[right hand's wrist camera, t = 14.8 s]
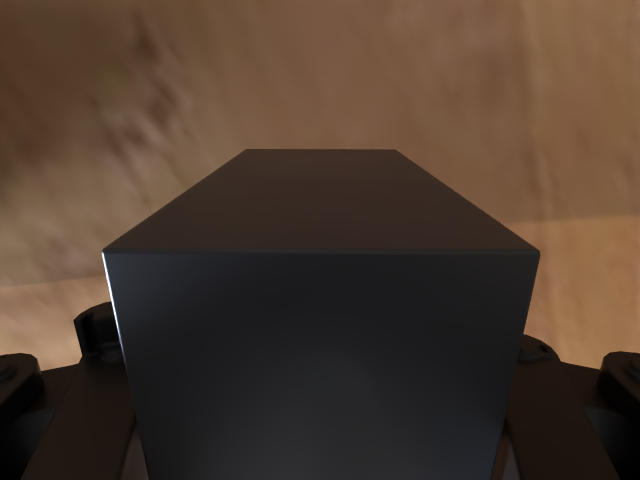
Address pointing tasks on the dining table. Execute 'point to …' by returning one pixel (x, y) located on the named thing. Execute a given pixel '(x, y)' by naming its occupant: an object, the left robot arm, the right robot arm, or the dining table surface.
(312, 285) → the beam
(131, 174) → the dining table surface
